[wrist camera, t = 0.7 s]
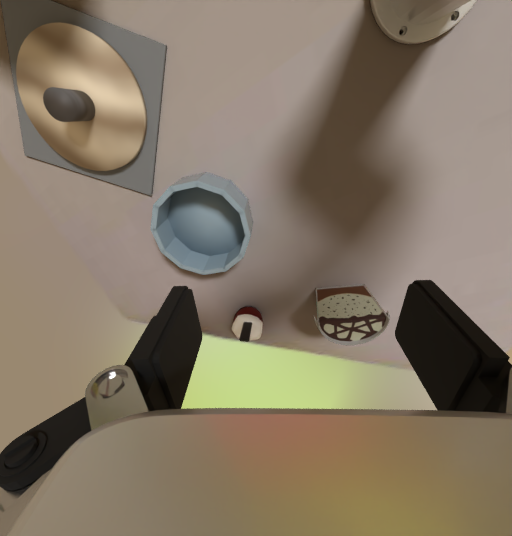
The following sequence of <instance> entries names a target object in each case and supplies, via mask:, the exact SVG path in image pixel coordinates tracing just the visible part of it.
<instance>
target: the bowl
mask: <svg viewBox="0 0 512 536" xmlns="http://www.w3.org/2000/svg"><path fill="white" fill-rule="evenodd" d="M252 226H253V219H252V215H251V210H250V206H249V202H248V199H247V198H246V197H245V196H244V194H243V193H242V192H241V191H240V190H239V189H238V188H237V187H236V186H235V185H234V183H233V182H232V181H231V180H228V179H225V178H222V177H219V176H216V175H213V174H210V173H207V172H205V173H201V174H196V175H192V176H187V177H183V178H181V179H180V180H179V181H177V182H176V183H174V184H173V185H171V186H170V187H169V188H168V189H167V190H166V191H165V192H164V194H163V195H162V196H161V197H160V198H159V199H158V200H157V201H156V202H155V204H154V205H153V211H152V221H151V231H152V233H153V236H154V238H155V240H156V242H157V244H158V247H159V249H160V251H161V252H162V253H163V254H164V255H165V256H166V257H168V258H169V259H170V260H171V261H172V262H173V263H175V264H176V265H177V266H178V267H179V268H182V269H185V270H188V271H192V272H195V273H199V274H202V275H206V274H212V273H219V272H225V271H227V270H228V269H230V268H231V267H232V266H233V265H235V264H236V263H237V262H239V261H240V260H241V259H242V258H243V257H244V254H245V251H246V248H247V245H248V242H249V239H250V236H251V231H252Z"/></svg>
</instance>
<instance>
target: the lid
mask: <svg viewBox="0 0 512 536" xmlns="http://www.w3.org/2000/svg"><path fill="white" fill-rule="evenodd" d="M16 77H17V85H18V90H19V94H20V97H21V101H22V104H23V106H24V108H25V111H26V113H27V115H28V117H29V119H30V121H31V122H32V124H33V125H34V127H35V129H36V130H37V131H38V133H39V134H40V135H41V137H42V138H43V139H44V140H45V141H46V142H47V143H48V144H49V145H50V146H51V147H52V148H53V149H54V150H55V151H56V152H57V153H59V154H60V155H61V156H62V157H64V158H65V159H67V160H69V161H70V162H72V163H74V164H76V165H78V166H81V167H83V168H86V169H90V170H96V171H108V170H113V169H116V168H119V167H122V166H124V165H126V164H128V163H129V162H131V161H132V160H133V159H134V158H135V157H136V156H137V155H138V153H139V152H140V150H141V148H142V146H143V144H144V141H145V138H146V133H147V109H146V104H145V100H144V97H143V93H142V90H141V88H140V86H139V83H138V81H137V79H136V77H135V75H134V73H133V72H132V70H131V69H130V67H129V66H128V64H127V63H126V61H125V60H124V59H123V58H122V56H121V55H120V54H119V53H118V52H117V51H116V50H115V49H114V48H113V47H112V46H111V45H110V44H108V43H107V42H106V41H105V40H103V39H102V38H100V37H99V36H97V35H96V34H94V33H92V32H90V31H87V30H85V29H83V28H81V27H79V26H75V25H72V24H68V23H60V22H59V23H49V24H45V25H42V26H40V27H38V28H36V29H35V30H33V31H32V32H31V33H30V34H29V35H28V36H27V37H26V39H25V40H24V42H23V44H22V45H21V47H20V50H19V54H18V58H17V64H16Z"/></svg>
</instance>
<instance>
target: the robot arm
mask: <svg viewBox="0 0 512 536" xmlns="http://www.w3.org/2000/svg"><path fill="white" fill-rule="evenodd" d="M476 1H477V0H370V3H371V8H372V12H373V15H374V17H375V20H376V22H377V24H378V25H379V27H380V28H381V30H382V31H383V32H384V33H385V34H386V35H387V36H388V37H389V38H391V39H393V40H395V41H397V42H399V43H404V44H419V43H423V42H427V41H430V40H432V39H434V38H436V37H438V36H440V35H442V34H443V33H445V32H447V31H448V30H450V29H451V28H452V27H453V26H455V25H456V24H457V23H458V22H459V21H460V20H461V19H462V18H463V17H464V16H465V15H466V14H467V13H468V12H469V11H470V10H471V8H472V7H473V6H474V4H475V3H476ZM451 16H452V20H451ZM400 30H401V31H402V34H401V35H400V34H399V31H400ZM395 336H396V339H397V341H398V343H399V345H400V346H401V348H402V350H403V351H404V353H405V355H406V357H407V358H408V360H409V362H410V363H411V365H412V367H413V369H414V370H415V372H416V374H417V375H418V377H419V379H420V381H421V382H422V384H423V386H424V388H425V389H426V391H427V393H428V394H429V396H430V398H431V400H432V401H433V403H434V405H435V407H436V408H437V411H436V410H376V409H374V410H373V409H271V408H270V409H269V408H268V409H265V408H263V409H260V408H258V409H257V408H256V409H255V408H205V409H181V407H182V403H183V400H184V397H185V393H186V390H187V387H188V384H189V380H190V377H191V374H192V370H193V367H194V364H195V361H196V358H197V354H198V351H199V348H200V345H201V341H202V331H201V327H200V322H199V318H198V314H197V309H196V305H195V300H194V296H193V292H192V290H191V289H188V287H187V286H174V287H173V288H172V289H171V291H170V293H169V295H168V296H167V298H166V300H165V302H164V303H163V305H162V307H161V309H160V310H159V312H158V314H157V315H156V316H154V317H153V318H152V319H151V321H150V323H149V324H148V326H147V328H146V329H145V331H144V333H143V334H142V336H141V338H140V340H139V341H138V343H137V345H136V346H135V348H134V350H133V351H132V353H131V355H130V357H129V358H128V360H127V362H126V363H125V365H116V366H112V367H109V368H107V369H105V370H103V371H102V372H100V373H98V374H97V375H96V376H95V377H94V378H93V379H92V380H91V381H90V383H89V384H88V386H87V388H86V392H85V397H84V398H83V399H81V400H80V401H78V402H76V403H74V404H72V405H71V406H69V407H68V408H66V409H64V410H63V411H61V412H59V413H57V414H56V415H54V416H52V417H51V418H49V419H47V420H46V421H44V422H42V423H40V424H39V425H37V426H36V427H34V428H32V429H30V430H29V431H27V432H25V433H24V434H22V435H21V436H19V437H18V438H16V439H15V440H13V441H12V442H11V443H10V444H9V445H8V446H7V447H6V448H5V449H4V450H3V451H2V452H1V454H0V536H512V365H511V364H510V363H509V362H508V359H509V356H508V355H507V354H506V353H505V352H504V351H503V350H502V349H501V348H500V347H499V346H498V345H497V344H496V343H495V342H494V341H492V340H491V339H490V338H489V337H488V336H487V335H486V334H485V333H484V332H483V331H482V330H481V329H480V328H479V327H478V326H477V325H476V324H475V323H474V322H473V321H472V320H471V319H470V318H469V317H468V316H467V315H466V314H465V313H464V312H463V311H462V310H461V309H460V308H459V307H458V306H457V305H456V304H455V303H454V302H453V301H452V300H451V299H450V298H449V297H448V296H447V295H446V294H445V293H444V292H443V291H442V290H441V289H440V288H439V287H438V286H437V285H436V284H435V283H434V282H433V281H431V280H416V281H414V282H413V283H412V284H410V285H409V286H408V289H407V293H406V296H405V299H404V303H403V306H402V310H401V313H400V316H399V320H398V323H397V327H396V330H395Z"/></svg>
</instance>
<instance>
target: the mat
mask: <svg viewBox="0 0 512 536" xmlns="http://www.w3.org/2000/svg"><path fill="white" fill-rule="evenodd" d="M1 6H2V13H3V19H4V26H5V32H6V38H7V45H8V51H9V58H10V64H11V70H12V77H13V83H14V89H15V96H16V102H17V109H18V115H19V121H20V128H21V134H22V141H23V147H24V153H25V155H26V156H29V157H32V158H35V159H38V160H41V161H44V162H47V163H50V164H54V165H57V166H60V167H63V168H66V169H69V170H72V171H75V172H79V173H82V174H85V175H88V176H91V177H94V178H97V179H100V180H104V181H107V182H110V183H113V184H116V185H119V186H122V187H125V188H128V189H132V190H135V191H138V192H141V193H144V194H147V195H150V196H152V192H153V182H154V172H155V162H156V152H157V142H158V131H159V121H160V111H161V101H162V91H163V81H164V71H165V61H166V51H167V46H166V45H164V44H161V43H159V42H156V41H154V40H151V39H149V38H146V37H143V36H141V35H138V34H136V33H133V32H131V31H128V30H125V29H123V28H120V27H118V26H115V25H113V24H110V23H107V22H105V21H102V20H100V19H97V18H95V17H92V16H90V15H87V14H84V13H82V12H79V11H77V10H74V9H72V8H69V7H66V6H64V5H61V4H59V3H56V2H54V1H51V0H1ZM59 22H60V23H68V24H72V25H75V26H79V27H81V28H83V29H85V30H87V31H90V32H92V33H94V34H96V35H97V36H99V37H100V38H102V39H103V40H105V41H106V42H107V43H108V44H110V45H111V46H112V47H113V48H114V49H115V50H116V51H117V52H118V53H119V54H120V55H121V56H122V58H123V59H124V60H125V61H126V63H127V64H128V66H129V67H130V69H131V70H132V72H133V73H134V75H135V77H136V79H137V81H138V83H139V86H140V88H141V90H142V93H143V97H144V100H145V104H146V109H147V133H146V138H145V141H144V144H143V146H142V148H141V150H140V152H139V153H138V155H137V156H136V157H135V158H134V159H133V160H132V161H131V162H129V163H128V164H126V165H124V166H122V167H119V168H116V169H113V170H108V171H96V170H90V169H86V168H83V167H81V166H78V165H76V164H74V163H72V162H70V161H69V160H67V159H65V158H64V157H62V156H61V155H60V154H59V153H57V152H56V151H55V150H54V149H53V148H52V147H51V146H50V145H49V144H48V143H47V142H46V141H45V140H44V139H43V138H42V137H41V135H40V134H39V133H38V131H37V130H36V129H35V127H34V125H33V124H32V122H31V121H30V119H29V117H28V115H27V113H26V111H25V108H24V106H23V104H22V101H21V97H20V94H19V90H18V85H17V77H16V64H17V58H18V54H19V50H20V47H21V45H22V44H23V42H24V40H25V39H26V37H27V36H28V35H29V34H30V33H31V32H32V31H33V30H35V29H36V28H38V27H40V26H42V25H45V24H49V23H59Z"/></svg>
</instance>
